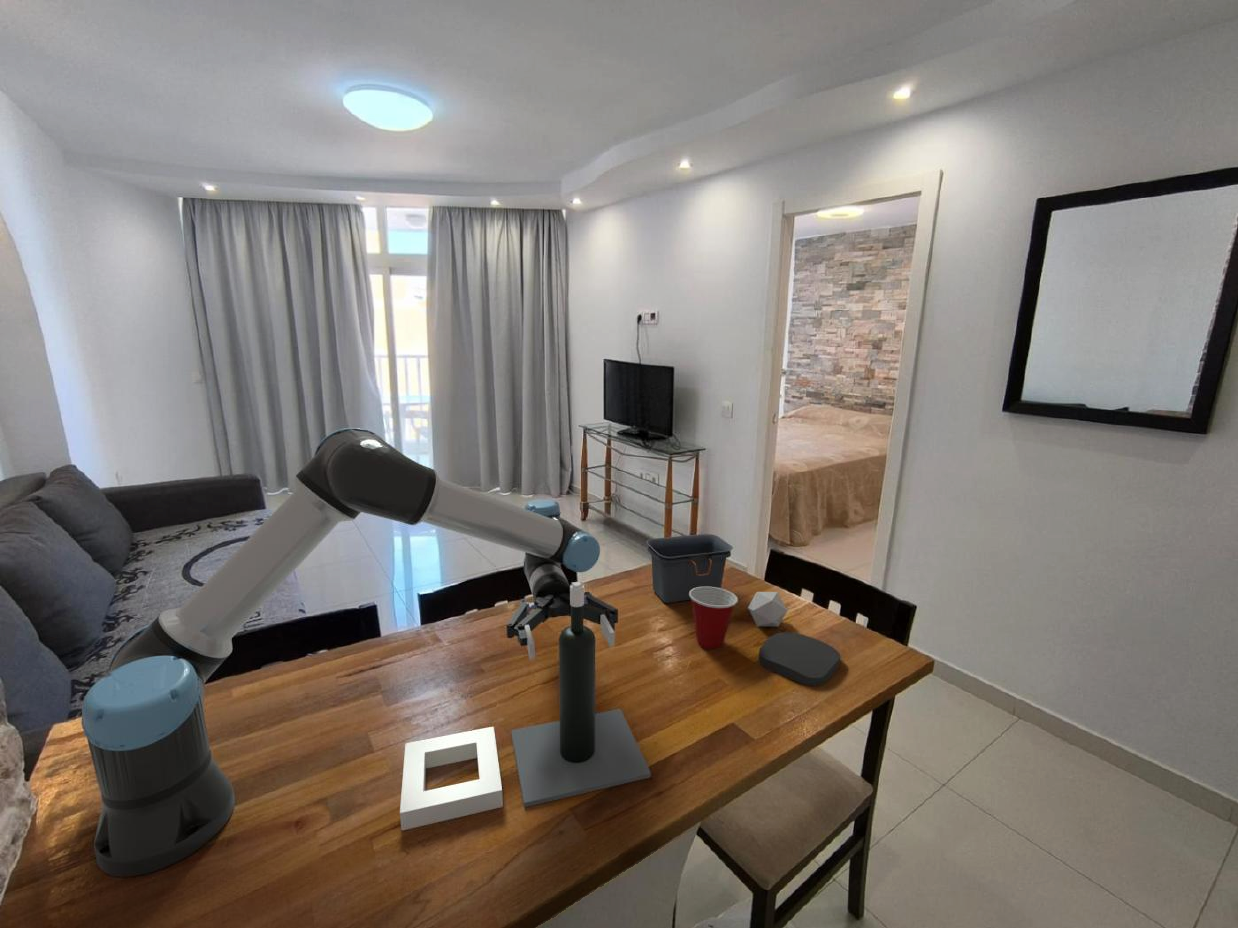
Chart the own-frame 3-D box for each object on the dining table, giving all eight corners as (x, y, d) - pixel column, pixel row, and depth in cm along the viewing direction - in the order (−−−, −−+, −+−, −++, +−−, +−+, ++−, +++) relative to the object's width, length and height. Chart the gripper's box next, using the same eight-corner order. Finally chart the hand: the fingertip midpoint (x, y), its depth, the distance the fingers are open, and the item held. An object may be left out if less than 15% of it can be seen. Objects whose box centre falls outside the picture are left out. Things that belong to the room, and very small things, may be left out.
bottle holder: (401, 830, 78) (399, 812, 77) (406, 758, 91) (405, 743, 90) (502, 806, 82) (502, 789, 81) (494, 741, 95) (493, 726, 94)
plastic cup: (743, 642, 127) (747, 594, 124) (717, 661, 119) (720, 611, 116) (704, 625, 134) (706, 579, 131) (677, 642, 126) (679, 594, 123)
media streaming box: (818, 692, 110) (819, 679, 109) (751, 663, 119) (752, 651, 118) (845, 661, 120) (846, 649, 120) (781, 636, 130) (783, 625, 129)
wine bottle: (579, 768, 88) (578, 595, 81) (552, 752, 92) (550, 584, 85) (601, 748, 93) (603, 582, 86) (576, 733, 96) (575, 572, 89)
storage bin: (709, 578, 160) (712, 531, 156) (738, 602, 145) (741, 551, 142) (641, 588, 153) (642, 539, 149) (664, 614, 139) (666, 561, 135)
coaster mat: (524, 807, 82) (523, 802, 82) (511, 734, 97) (511, 730, 96) (650, 777, 88) (651, 772, 88) (620, 712, 103) (620, 708, 102)
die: (777, 639, 129) (798, 603, 130) (746, 619, 130) (766, 583, 131) (767, 633, 137) (787, 599, 139) (738, 614, 138) (757, 581, 139)
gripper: (610, 599, 116) (643, 654, 97) (488, 615, 109) (497, 678, 89) (610, 566, 115) (644, 615, 95) (486, 580, 107) (495, 636, 88)
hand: (573, 646), depth 92 cm, fingers open, 13 cm apart
